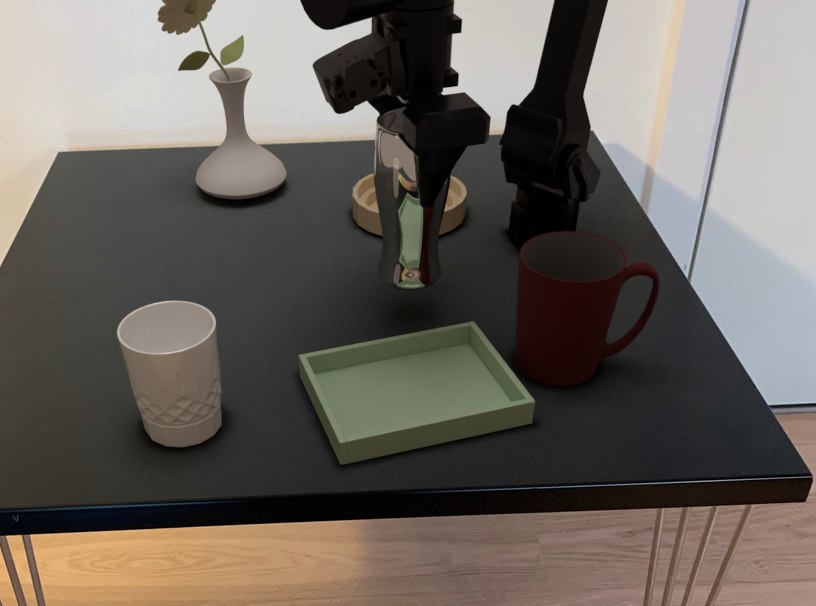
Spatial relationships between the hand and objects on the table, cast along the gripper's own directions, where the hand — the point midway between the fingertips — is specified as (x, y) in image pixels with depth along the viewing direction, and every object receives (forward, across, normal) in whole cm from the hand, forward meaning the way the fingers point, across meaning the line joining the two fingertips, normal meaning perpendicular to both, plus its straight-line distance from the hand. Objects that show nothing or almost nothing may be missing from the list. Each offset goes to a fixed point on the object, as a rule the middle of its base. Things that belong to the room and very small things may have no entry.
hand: (412, 189), depth 82 cm
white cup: (+13, +11, -24) cm, 30 cm away
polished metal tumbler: (+9, 0, 0) cm, 9 cm away
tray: (+13, +14, -4) cm, 19 cm away
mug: (+13, +13, +12) cm, 22 cm away
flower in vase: (+13, -34, -11) cm, 38 cm away
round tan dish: (+13, -21, +7) cm, 25 cm away
